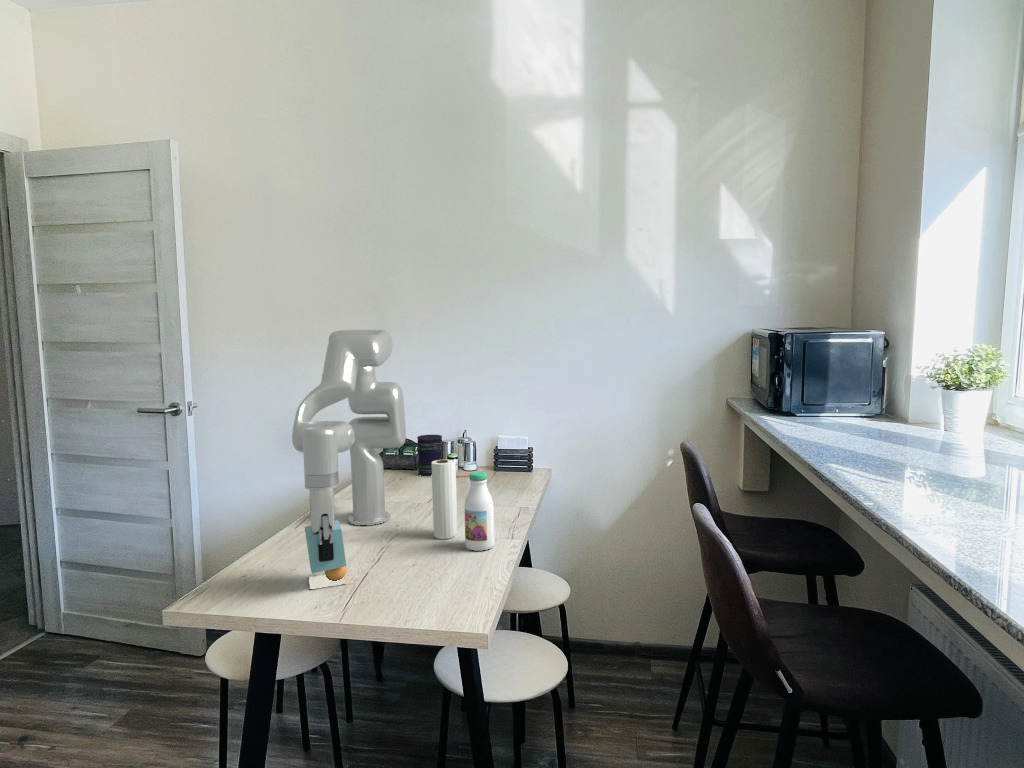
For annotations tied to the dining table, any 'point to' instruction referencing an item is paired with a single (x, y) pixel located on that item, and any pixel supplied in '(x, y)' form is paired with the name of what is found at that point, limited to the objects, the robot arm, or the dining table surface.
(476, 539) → the milk bottle
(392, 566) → the dining table surface
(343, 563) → the light teal cube-like block
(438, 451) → the storage jar
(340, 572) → the ball
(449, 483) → the paper towel roll
